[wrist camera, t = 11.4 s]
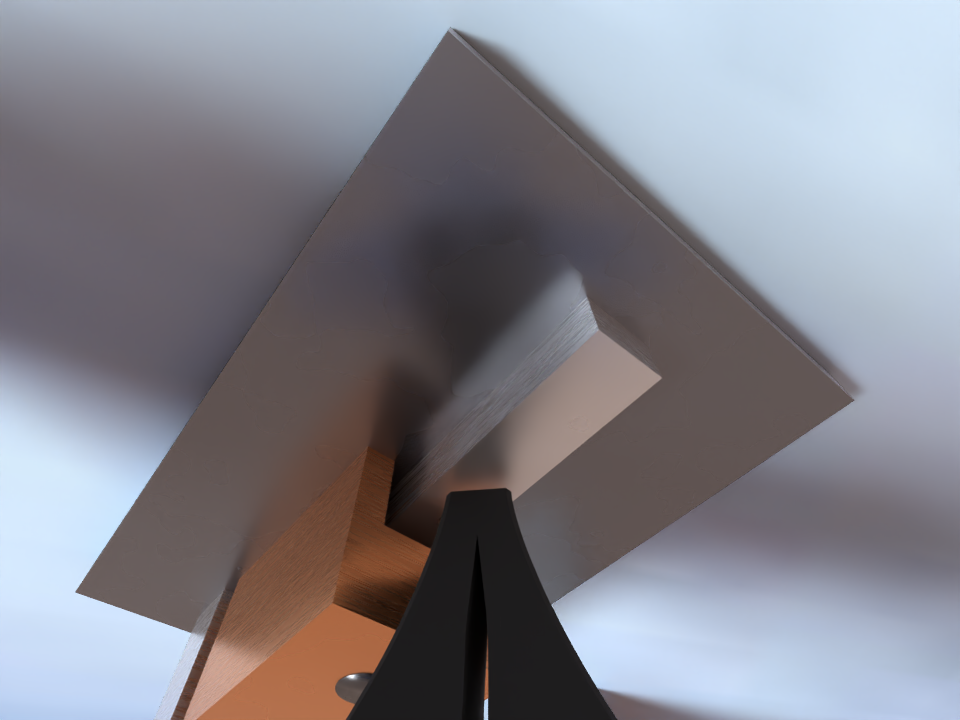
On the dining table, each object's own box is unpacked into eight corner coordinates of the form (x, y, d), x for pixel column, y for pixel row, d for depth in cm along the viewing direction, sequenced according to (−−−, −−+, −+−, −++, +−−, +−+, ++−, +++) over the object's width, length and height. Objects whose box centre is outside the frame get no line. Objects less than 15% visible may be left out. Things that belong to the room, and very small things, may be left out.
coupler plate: (93, 563, 18) (-22, 739, 14) (450, 26, 10) (433, 57, 5) (402, 678, 22) (386, 838, 18) (831, 375, 14) (984, 540, 10)
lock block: (367, 632, 18) (342, 784, 15) (239, 579, 17) (177, 736, 13) (506, 524, 15) (517, 682, 12) (367, 446, 14) (332, 604, 10)
